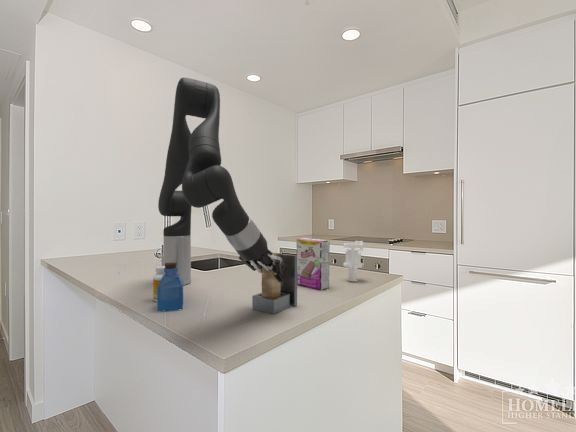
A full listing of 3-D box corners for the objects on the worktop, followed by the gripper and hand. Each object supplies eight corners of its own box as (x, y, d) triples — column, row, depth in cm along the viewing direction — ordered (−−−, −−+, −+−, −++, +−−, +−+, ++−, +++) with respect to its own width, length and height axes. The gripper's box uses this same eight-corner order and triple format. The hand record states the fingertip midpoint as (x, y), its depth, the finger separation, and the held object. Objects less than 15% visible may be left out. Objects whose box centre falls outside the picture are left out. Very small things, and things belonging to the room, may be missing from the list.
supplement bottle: (165, 302, 90) (165, 268, 90) (149, 301, 92) (149, 268, 91) (176, 297, 96) (176, 265, 95) (160, 296, 97) (160, 264, 97)
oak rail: (261, 302, 85) (261, 253, 85) (269, 299, 88) (270, 252, 88) (272, 304, 83) (272, 255, 83) (280, 301, 86) (280, 253, 86)
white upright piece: (362, 283, 114) (362, 242, 113) (342, 282, 115) (342, 241, 115) (362, 279, 121) (362, 240, 120) (343, 278, 122) (344, 239, 122)
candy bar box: (295, 285, 112) (295, 238, 111) (304, 282, 115) (305, 237, 115) (321, 290, 104) (321, 240, 103) (330, 288, 107) (330, 239, 107)
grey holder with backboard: (249, 308, 85) (249, 256, 85) (271, 300, 93) (271, 252, 93) (276, 314, 80) (276, 259, 80) (297, 305, 88) (297, 255, 88)
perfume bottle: (157, 311, 83) (157, 265, 82) (159, 304, 89) (159, 262, 88) (182, 309, 84) (182, 264, 84) (183, 303, 90) (183, 261, 90)
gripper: (275, 227, 75) (302, 270, 85) (232, 225, 83) (262, 265, 93) (261, 251, 71) (291, 294, 81) (217, 247, 79) (249, 286, 89)
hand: (275, 278), depth 87 cm, fingers closed on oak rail, 3 cm apart
